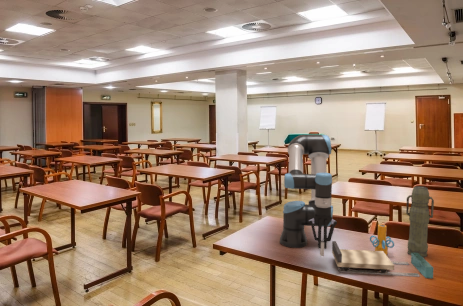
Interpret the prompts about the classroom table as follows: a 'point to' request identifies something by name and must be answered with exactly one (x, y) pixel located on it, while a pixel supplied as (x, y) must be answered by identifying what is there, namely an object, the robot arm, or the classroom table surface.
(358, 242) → the classroom table surface
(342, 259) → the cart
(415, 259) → the track
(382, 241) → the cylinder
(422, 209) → the thermos
